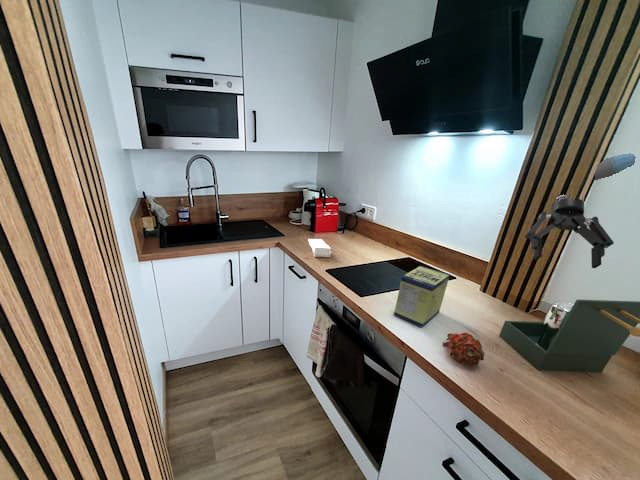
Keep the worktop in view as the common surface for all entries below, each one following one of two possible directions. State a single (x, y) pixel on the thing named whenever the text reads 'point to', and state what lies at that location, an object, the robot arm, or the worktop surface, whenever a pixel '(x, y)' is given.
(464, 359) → the dragon fruit
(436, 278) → the protein box
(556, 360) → the dark green box base
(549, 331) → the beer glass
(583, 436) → the worktop surface
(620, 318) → the box lid with handle
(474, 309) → the worktop surface
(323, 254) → the white rectangular block
